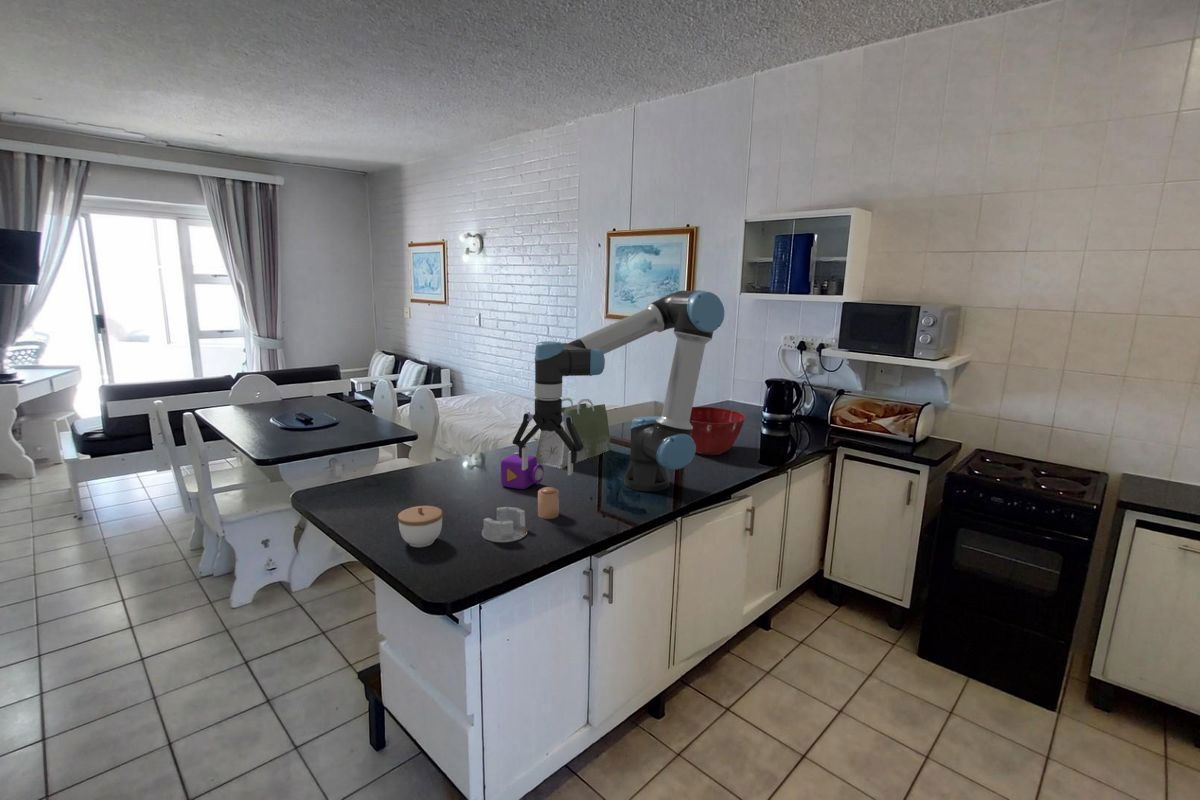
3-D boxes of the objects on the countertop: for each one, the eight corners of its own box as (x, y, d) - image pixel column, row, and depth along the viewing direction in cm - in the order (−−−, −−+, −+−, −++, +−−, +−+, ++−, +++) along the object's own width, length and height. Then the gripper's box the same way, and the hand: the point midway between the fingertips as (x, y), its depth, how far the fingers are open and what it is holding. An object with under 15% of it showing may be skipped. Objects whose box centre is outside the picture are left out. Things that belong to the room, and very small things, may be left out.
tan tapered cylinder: (561, 512, 165) (561, 487, 163) (555, 519, 159) (555, 494, 157) (542, 509, 166) (542, 485, 165) (534, 517, 160) (534, 492, 159)
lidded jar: (405, 533, 148) (403, 499, 147) (446, 532, 149) (445, 499, 147) (394, 552, 138) (392, 515, 136) (439, 551, 139) (437, 515, 137)
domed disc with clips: (534, 526, 154) (533, 509, 153) (517, 545, 143) (517, 526, 142) (493, 521, 157) (493, 504, 156) (473, 539, 146) (473, 521, 145)
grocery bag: (584, 444, 237) (584, 390, 232) (611, 450, 229) (612, 394, 224) (533, 462, 211) (532, 401, 206) (562, 469, 203) (562, 406, 199)
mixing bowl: (750, 461, 217) (753, 422, 214) (676, 460, 217) (678, 421, 214) (734, 442, 244) (736, 407, 241) (668, 440, 245) (670, 406, 242)
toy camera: (538, 492, 180) (538, 462, 178) (498, 489, 182) (497, 459, 180) (548, 481, 190) (548, 453, 188) (509, 478, 193) (509, 450, 191)
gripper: (595, 398, 156) (593, 472, 160) (511, 392, 162) (511, 463, 166) (588, 403, 149) (586, 480, 153) (500, 396, 155) (501, 470, 159)
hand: (547, 471), depth 160 cm, fingers open, 13 cm apart
